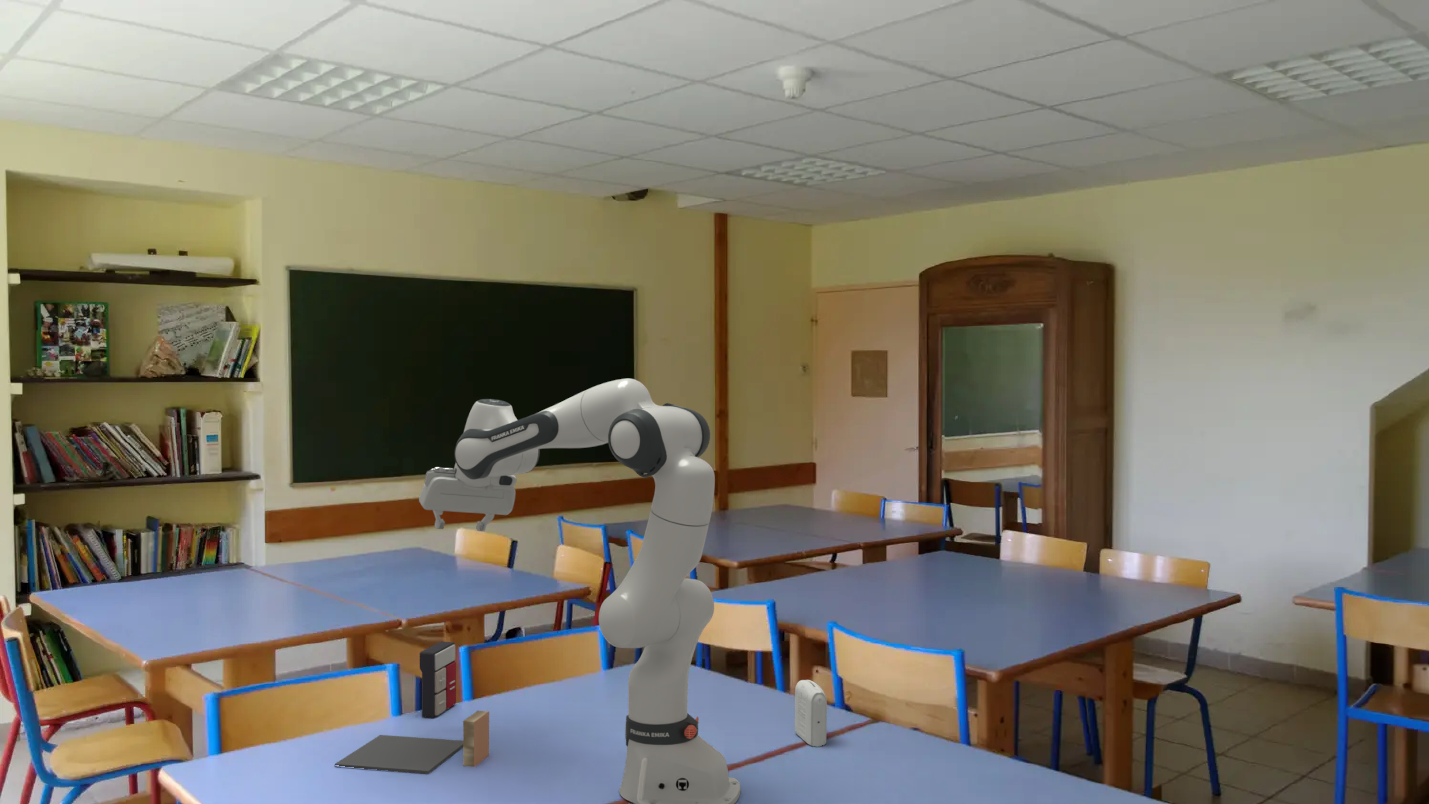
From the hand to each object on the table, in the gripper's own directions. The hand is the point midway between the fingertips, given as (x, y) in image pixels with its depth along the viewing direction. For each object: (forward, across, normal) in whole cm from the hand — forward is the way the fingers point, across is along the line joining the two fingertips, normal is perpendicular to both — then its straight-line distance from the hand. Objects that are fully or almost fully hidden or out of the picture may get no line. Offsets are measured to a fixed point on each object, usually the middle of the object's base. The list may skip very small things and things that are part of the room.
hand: (459, 529), depth 226 cm
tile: (+37, +3, -30) cm, 48 cm away
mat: (+42, -8, -20) cm, 47 cm away
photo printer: (+19, +66, -55) cm, 88 cm away
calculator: (+49, +9, +4) cm, 50 cm away
